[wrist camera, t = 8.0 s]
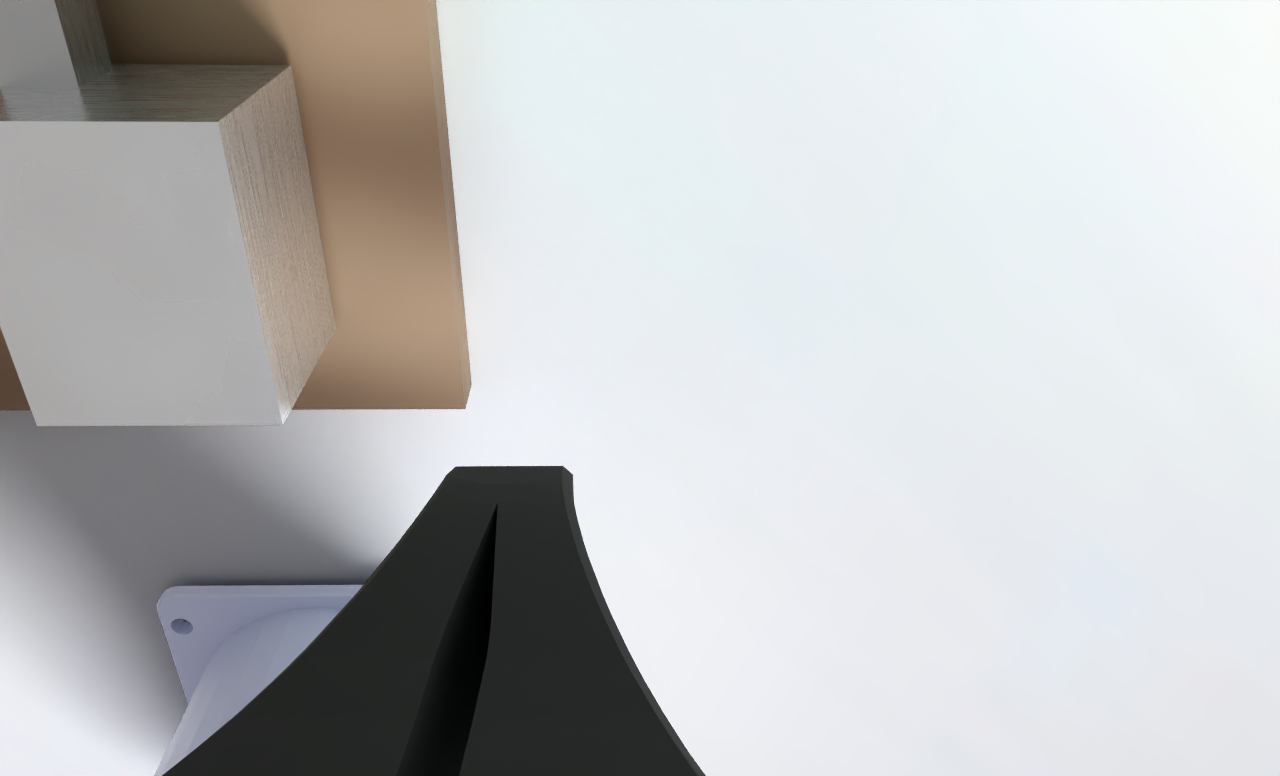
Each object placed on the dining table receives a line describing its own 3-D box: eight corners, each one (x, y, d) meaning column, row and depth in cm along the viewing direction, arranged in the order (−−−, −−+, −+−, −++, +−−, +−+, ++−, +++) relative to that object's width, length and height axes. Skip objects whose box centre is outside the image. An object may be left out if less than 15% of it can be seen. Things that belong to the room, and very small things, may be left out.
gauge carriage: (335, 328, 19) (282, 425, 16) (129, 327, 19) (37, 426, 16) (244, -213, 14) (144, -220, 11) (-30, -216, 14) (-203, -223, 11)
